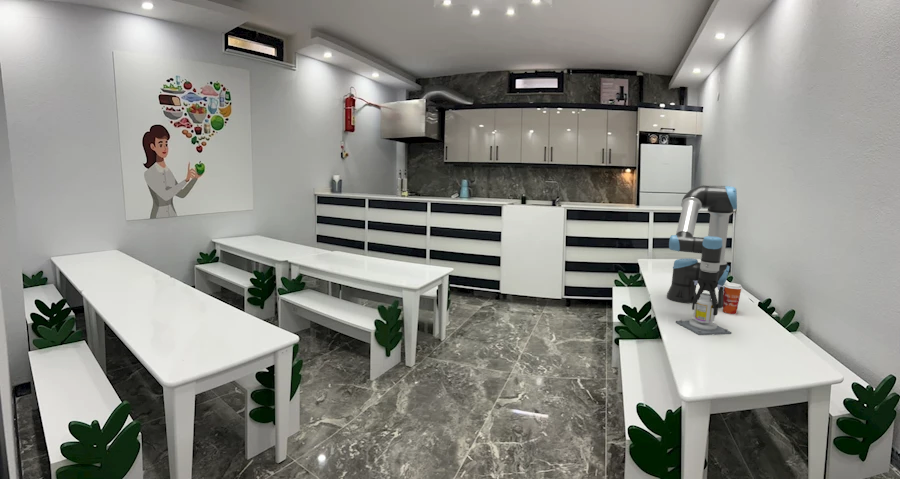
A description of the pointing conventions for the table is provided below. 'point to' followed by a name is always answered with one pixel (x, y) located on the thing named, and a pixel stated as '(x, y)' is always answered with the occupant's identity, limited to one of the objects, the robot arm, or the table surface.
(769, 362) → the table surface
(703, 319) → the supplement bottle
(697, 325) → the flange
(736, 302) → the coffee cup
